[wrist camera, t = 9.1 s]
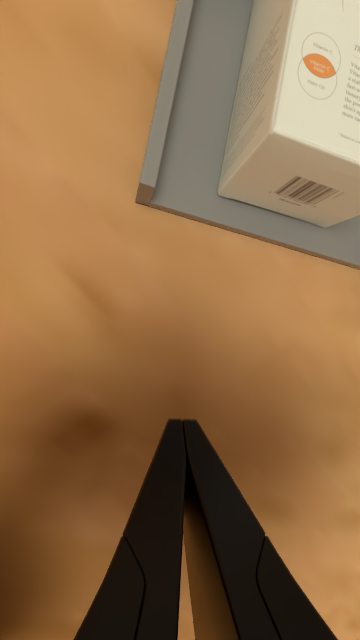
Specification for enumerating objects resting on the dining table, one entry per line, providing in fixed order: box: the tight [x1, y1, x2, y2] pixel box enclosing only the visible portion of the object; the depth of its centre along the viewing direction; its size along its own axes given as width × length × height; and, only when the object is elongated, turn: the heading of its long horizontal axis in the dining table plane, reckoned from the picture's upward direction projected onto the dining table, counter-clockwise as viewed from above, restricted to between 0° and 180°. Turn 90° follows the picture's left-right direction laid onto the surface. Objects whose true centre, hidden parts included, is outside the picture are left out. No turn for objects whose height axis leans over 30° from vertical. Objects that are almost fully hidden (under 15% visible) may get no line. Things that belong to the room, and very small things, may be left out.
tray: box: [136, 0, 360, 269], centre depth 18 cm, size 15×18×2 cm
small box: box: [218, 0, 360, 228], centre depth 15 cm, size 8×6×13 cm
